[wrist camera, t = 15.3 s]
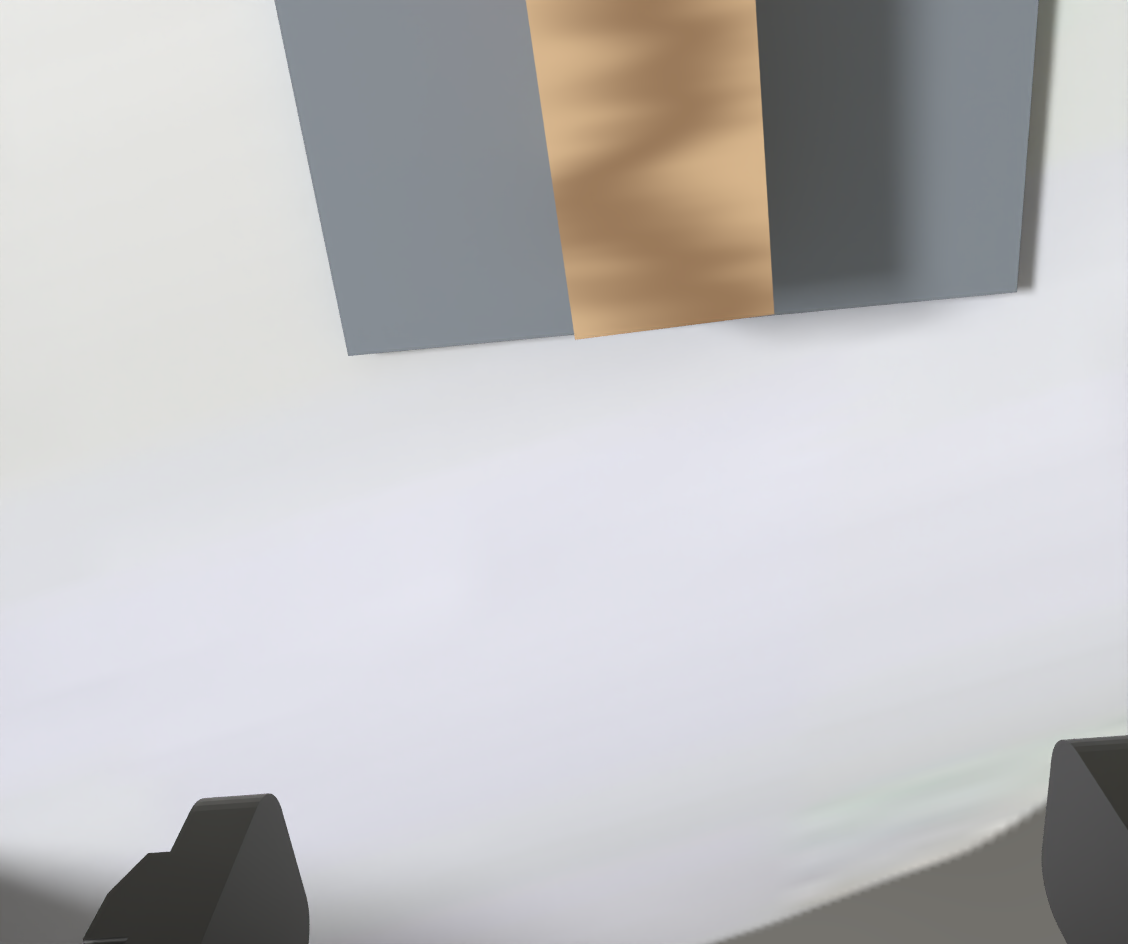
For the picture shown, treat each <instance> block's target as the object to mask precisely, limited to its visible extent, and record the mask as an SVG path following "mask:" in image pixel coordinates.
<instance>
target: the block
mask: <svg viewBox="0 0 1128 944" xmlns="http://www.w3.org/2000/svg"><path fill="white" fill-rule="evenodd" d="M526 5H527V12H528V19H529V26H530V33H531V40H532V47H533V54H534V60H535V67H536V74H537V81H538V88H539V95H540V102H541V109H542V116H543V122H544V129H545V136H546V143H547V150H548V157H549V164H550V171H551V177H552V184H553V191H554V198H555V205H556V212H557V219H558V226H559V233H560V239H561V246H562V253H563V260H564V267H565V274H566V281H567V288H568V295H569V301H570V308H571V315H572V322H573V329H574V336H575V340H576V339H584V338H592V337H600V336H608V335H615V334H623V333H631V332H639V331H647V330H655V329H663V328H670V327H678V326H686V325H694V324H702V323H710V322H718V321H725V320H733V319H741V318H749V317H757V316H765V315H772V314H774V301H773V284H772V268H771V251H770V235H769V218H768V201H767V185H766V168H765V152H764V135H763V118H762V102H761V85H760V69H759V52H758V35H757V19H756V2H755V0H526Z"/></svg>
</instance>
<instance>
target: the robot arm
mask: <svg viewBox="0 0 1128 944" xmlns="http://www.w3.org/2000/svg"><path fill="white" fill-rule="evenodd" d="M1042 872H1043V879H1044V885H1045V890H1046V894H1047V898H1048V901H1049V904H1050V908H1051V910H1052V913H1053V916H1054V918H1055V920H1056V922H1057V925H1058V927H1059V928H1060V931H1061V932H1062V934H1063V936H1064V938H1065V940H1066V942H1067V944H1128V735H1125V736H1111V737H1097V738H1083V739H1068V740H1060V741H1058V742H1057V743H1056V745H1055V747H1054V749H1053V753H1052V759H1051V769H1050V778H1049V788H1048V797H1047V807H1046V817H1045V826H1044V836H1043V846H1042ZM83 941H84V943H83V944H308V943H309V909H308V902H307V898H306V894H305V890H304V887H303V883H302V880H301V876H300V873H299V869H298V865H297V862H296V858H295V855H294V851H293V848H292V844H291V841H290V837H289V834H288V830H287V827H286V823H285V820H284V816H283V813H282V809H281V806H280V804H279V802H278V800H277V798H276V797H275V796H274V795H272V794H256V795H242V796H228V797H214V798H203V799H200V800H199V801H197V802H196V803H195V805H194V806H193V807H192V809H191V811H190V813H189V815H188V817H187V819H186V821H185V823H184V825H183V827H182V829H181V831H180V833H179V835H178V837H177V839H176V841H175V843H174V845H173V847H172V849H171V851H170V852H159V853H148V854H147V855H146V856H145V857H144V858H143V859H142V860H141V861H140V862H139V863H138V864H137V865H136V866H135V867H134V868H133V869H132V870H131V871H130V872H129V873H128V874H127V875H126V876H125V877H124V878H123V879H122V880H121V881H120V882H119V883H118V884H117V885H116V886H115V887H114V888H113V889H112V890H111V891H110V892H109V893H108V894H107V896H106V898H105V900H104V901H103V903H102V905H101V907H100V909H99V911H98V912H97V914H96V916H95V918H94V920H93V922H92V924H91V925H90V927H89V929H88V931H87V933H86V935H85V937H84V938H83Z"/></svg>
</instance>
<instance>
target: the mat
mask: <svg viewBox="0 0 1128 944" xmlns="http://www.w3.org/2000/svg"><path fill="white" fill-rule="evenodd" d="M755 2H756V19H757V35H758V52H759V69H760V85H761V102H762V118H763V135H764V152H765V168H766V185H767V201H768V218H769V235H770V251H771V268H772V284H773V301H774V314H772V315H782V314H792V313H803V312H813V311H824V310H834V309H845V308H855V307H866V306H876V305H887V304H897V303H908V302H918V301H929V300H939V299H950V298H960V297H970V296H981V295H991V294H1002V293H1012V292H1017V280H1018V267H1019V254H1020V241H1021V228H1022V214H1023V201H1024V188H1025V175H1026V162H1027V148H1028V135H1029V122H1030V109H1031V96H1032V82H1033V69H1034V56H1035V43H1036V30H1037V16H1038V3H1039V0H755ZM275 5H276V10H277V15H278V20H279V25H280V29H281V34H282V39H283V44H284V49H285V53H286V58H287V63H288V68H289V73H290V77H291V82H292V87H293V92H294V97H295V102H296V106H297V111H298V116H299V121H300V126H301V130H302V135H303V140H304V145H305V150H306V154H307V159H308V164H309V169H310V174H311V179H312V183H313V188H314V193H315V198H316V203H317V207H318V212H319V217H320V222H321V227H322V232H323V236H324V241H325V246H326V251H327V256H328V260H329V265H330V270H331V275H332V280H333V284H334V289H335V294H336V299H337V304H338V309H339V313H340V318H341V323H342V328H343V333H344V337H345V342H346V347H347V352H348V356H353V355H363V354H374V353H384V352H395V351H405V350H416V349H426V348H436V347H447V346H457V345H468V344H478V343H489V342H499V341H510V340H520V339H531V338H541V337H552V336H562V335H573V334H574V329H573V322H572V315H571V308H570V301H569V295H568V288H567V281H566V274H565V267H564V260H563V253H562V246H561V239H560V233H559V226H558V219H557V212H556V205H555V198H554V191H553V184H552V177H551V171H550V164H549V157H548V150H547V143H546V136H545V129H544V122H543V116H542V109H541V102H540V95H539V88H538V81H537V74H536V67H535V60H534V54H533V47H532V40H531V33H530V26H529V19H528V12H527V5H526V0H275ZM772 315H765V316H772ZM757 317H761V316H757ZM749 318H751V317H749Z"/></svg>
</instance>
